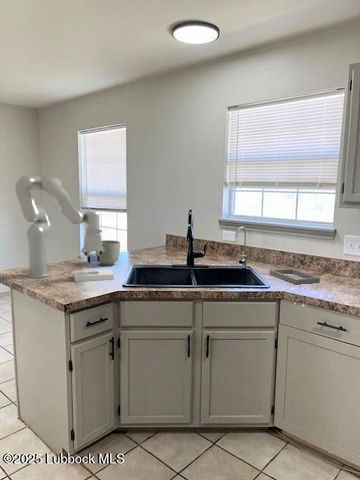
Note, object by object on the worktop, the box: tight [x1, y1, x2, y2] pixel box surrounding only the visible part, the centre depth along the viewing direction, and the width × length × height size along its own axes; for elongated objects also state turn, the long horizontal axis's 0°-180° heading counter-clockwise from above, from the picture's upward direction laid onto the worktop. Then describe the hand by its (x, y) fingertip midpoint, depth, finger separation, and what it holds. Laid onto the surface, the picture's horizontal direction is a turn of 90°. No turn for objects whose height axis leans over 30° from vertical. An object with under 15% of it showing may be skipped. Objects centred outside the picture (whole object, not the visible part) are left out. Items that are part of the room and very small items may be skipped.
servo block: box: [88, 254, 99, 269], centre depth 217 cm, size 11×4×7 cm, turn 20°
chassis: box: [73, 269, 115, 283], centre depth 218 cm, size 22×13×3 cm, turn 110°
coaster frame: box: [269, 268, 321, 285], centre depth 225 cm, size 17×26×4 cm, turn 20°
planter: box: [94, 239, 121, 267], centre depth 254 cm, size 17×17×16 cm
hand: (93, 262), depth 217 cm, fingers closed on servo block, 4 cm apart
